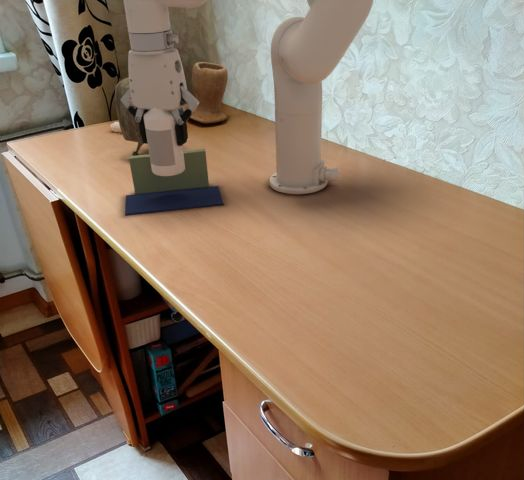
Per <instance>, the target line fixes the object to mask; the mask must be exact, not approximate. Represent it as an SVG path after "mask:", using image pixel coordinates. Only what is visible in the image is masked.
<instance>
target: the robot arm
mask: <svg viewBox="0 0 524 480" xmlns="http://www.w3.org/2000/svg"><path fill="white" fill-rule="evenodd" d="M207 1H208V0H123V1H122V2H123V6H124V12H125V20H126V27H127V32H128V38H129V45H130V50H129V51H128V59H127V69H128V77H129V85H130V88H129V90H128V91H127V92H126V93H125V94H124V96H123V97H122V98H121V102H122V103H123V104H124V105H125V107H126V108H128V111H129V112H130V113H131V114H132V115H133V116H134V117H135V120H136V122H138V123H139V129H140V135H141V137H142V142H143V143H144V144H145V143H147V136H146V130H145V124H144V114H145V113H146V112H147V111H149V109H154V107H155V108H157V109H161V110H171V112H172V114H173V116H174V118H175V119H176V121H177V124H176V125H175V131H176V139H177V145H178V146H183V145H184V144H186V143H187V141H188V139H189V134H188V133H189V132H188V123H187V121H189V119H191V118H190V116H191V115H192V114H193V113H194V111H195V109H196V108H197V106H198V105H199V101H198V100H197V99H196V98H195V95H193V94H192V93H191V92H190V91H189V90H188V87H187V81H186V76H185V71H184V67H183V63H182V59H181V56H180V53H179V50H178V49H177V48H174V45H175V44H176V45H177V44H179V36H178V35H177V34H174V33H173V30H172V28H171V19H170V12H169V8H178V9H179V8H180V9H196V8H199V7H201V6H204V4H205V3H206V2H207ZM306 1H307V5H308V6H309V9H308V11H307V13H306V14H305V16H304V17H302V16H292V17H289V18H287V19H285V20H284V21H282V22H280V24H279V25H278V26H277V27H276V29H275V31H274V33H273V35H272V38H271V42H270V61H271V70H272V78H273V91H274V92H273V93H274V94H273V95H274V128H275V130H274V131H275V168H276V169H275V170H276V172H275V173H273V174H272V175H271V176H270V177H269V186H270V188H271V189H273V190H275V191H276V192H279V193H282V194H286V195H287V194H288V195H307V194H312V193H316V192H319V191H321V190H323V189H324V188H325V187H327V185H328V181H334V182H340V179H341V171H338V168H337V167H327V166H326V165H325V160H323V159H322V132H323V131H322V129H323V128H322V125H323V124H322V123H323V81H324V80H326V79H327V78H328V77H329V76H330V75H331V74H332V73H333V72H334V70H335V69H336V68H337V66H338V65H339V63H340V62H341V60H342V59H343V57H344V56H345V54H346V53H347V51H348V49H349V48H350V46H351V44H352V43H353V41H354V40H355V38H356V36H358V33H359V32H360V30H361V29H362V28H363V25H364V24H365V22H366V20H367V19H368V17H369V15H370V12H371V10H372V8H373V4H374V0H306ZM185 104H188V107H187V109H186V110H184V108H183V105H185Z"/></svg>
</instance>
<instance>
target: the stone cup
mask: <svg viewBox="0 0 524 480" xmlns="http://www.w3.org/2000/svg"><path fill="white" fill-rule="evenodd" d="M191 73H192V74H191V78H192V80H191V81H192V88H193V93H194V97H195V98H196V99H197V100H198V101H199V105H198V106H197V108H196V109H195V111H194V113H193V114H192V115H191V116H190V118H189V119H191V120H194V121H195V122H197V123H201V124H215V123H219V122H223V121H225V120H227V118H228V116H227V114H226V113H225V112H224V111H223V109H222V103H223V99H224V95H225V91H226V88H227V84H228V80H229V79H228V78H229V75H228V73H229V72H228V69H227V67H225V66H224V65H222V64H218V63H212V62H209V61H198V62H196V63H194V65H193V67H192V71H191ZM182 106H183V108H184V110H186V109H187V107H188V103H186V104H184V105H182Z"/></svg>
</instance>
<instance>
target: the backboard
mask: <svg viewBox="0 0 524 480" xmlns="http://www.w3.org/2000/svg"><path fill="white" fill-rule="evenodd" d="M183 154H184V162H185V170H184V171H183V172H182V173H180V174H177V175H173V176H158V175H155V174H154V173H153V172H152V168H151V162H150V156H149V153H148V154H147V153H146V154H139V155H136V156H132V155H129V156H128V161H129V167H130V174H131V178H132V184H133V190H134V194H143V193H153V192H162V191H172V190H181V189H191V188H201V187H210V182H209V171H208V163H207V161H208V160H207V152H206V148H199V149H189V150H183Z"/></svg>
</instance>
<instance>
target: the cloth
mask: <svg viewBox="0 0 524 480" xmlns="http://www.w3.org/2000/svg"><path fill="white" fill-rule="evenodd" d="M124 205H125V207H124V216H134V215H135V216H136V215H143V214H150V213H151V214H153V213H162V212H163V213H164V212H171V211H183V210H191V209H200V208H201V209H202V208H209V207H218V206H224V200H223V197H222V193H221V189H220V186H219V185H212V186H210V185H209V187H201V188H191V189H181V190H172V191H162V192H153V193H143V194H135V193H134V194H126V195H125V204H124Z"/></svg>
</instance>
